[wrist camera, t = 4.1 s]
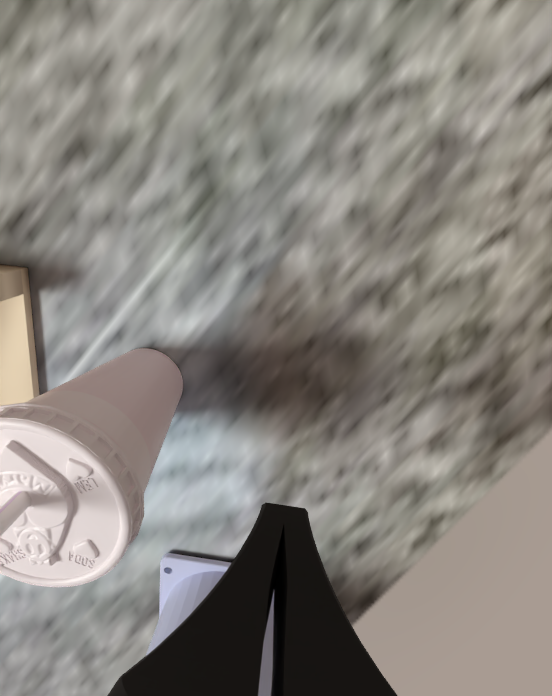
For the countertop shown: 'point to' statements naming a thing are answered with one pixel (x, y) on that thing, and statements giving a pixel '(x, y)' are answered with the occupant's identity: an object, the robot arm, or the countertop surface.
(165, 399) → the smoothie
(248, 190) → the countertop surface
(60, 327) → the countertop surface
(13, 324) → the u rest
